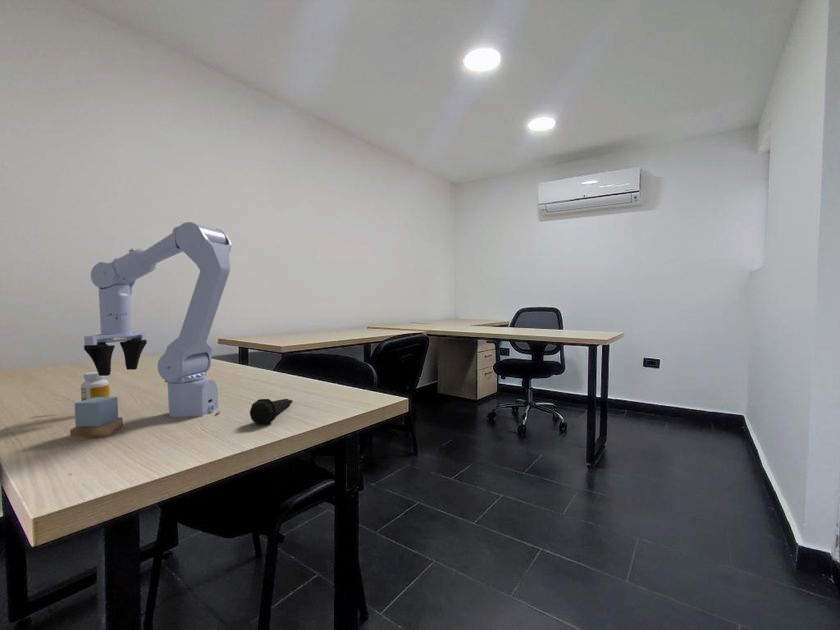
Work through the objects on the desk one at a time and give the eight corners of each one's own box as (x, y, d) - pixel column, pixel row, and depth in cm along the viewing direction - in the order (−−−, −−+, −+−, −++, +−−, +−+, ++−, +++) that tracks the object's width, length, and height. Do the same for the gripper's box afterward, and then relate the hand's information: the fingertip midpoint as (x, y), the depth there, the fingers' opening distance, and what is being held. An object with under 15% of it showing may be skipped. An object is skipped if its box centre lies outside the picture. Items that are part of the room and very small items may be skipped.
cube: (118, 419, 77) (117, 397, 77) (99, 426, 72) (98, 402, 72) (96, 419, 77) (95, 397, 77) (75, 426, 72) (74, 403, 72)
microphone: (284, 415, 100) (249, 431, 80) (278, 394, 100) (241, 405, 80) (304, 408, 100) (274, 422, 80) (298, 387, 100) (266, 396, 80)
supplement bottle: (115, 407, 99) (113, 370, 98) (101, 413, 93) (99, 374, 93) (91, 409, 98) (89, 371, 97) (76, 415, 92) (74, 375, 92)
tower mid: (122, 426, 78) (122, 416, 78) (109, 436, 73) (109, 425, 73) (87, 430, 76) (86, 420, 76) (70, 440, 71) (70, 429, 71)
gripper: (125, 314, 97) (127, 367, 98) (69, 316, 83) (73, 378, 84) (151, 313, 97) (154, 366, 98) (100, 316, 83) (103, 378, 83)
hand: (118, 372), depth 91 cm, fingers open, 7 cm apart
